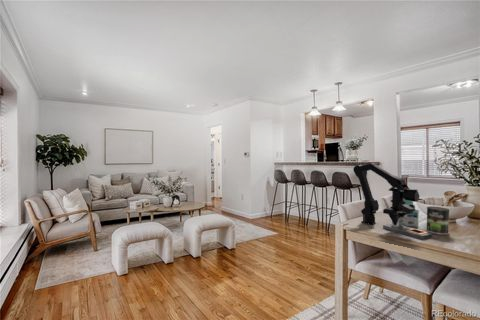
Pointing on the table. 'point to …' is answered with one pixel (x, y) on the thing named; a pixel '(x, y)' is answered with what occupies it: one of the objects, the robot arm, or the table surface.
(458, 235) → the table surface
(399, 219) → the steel peg
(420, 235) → the rail
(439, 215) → the coffee can
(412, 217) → the light bulb box
